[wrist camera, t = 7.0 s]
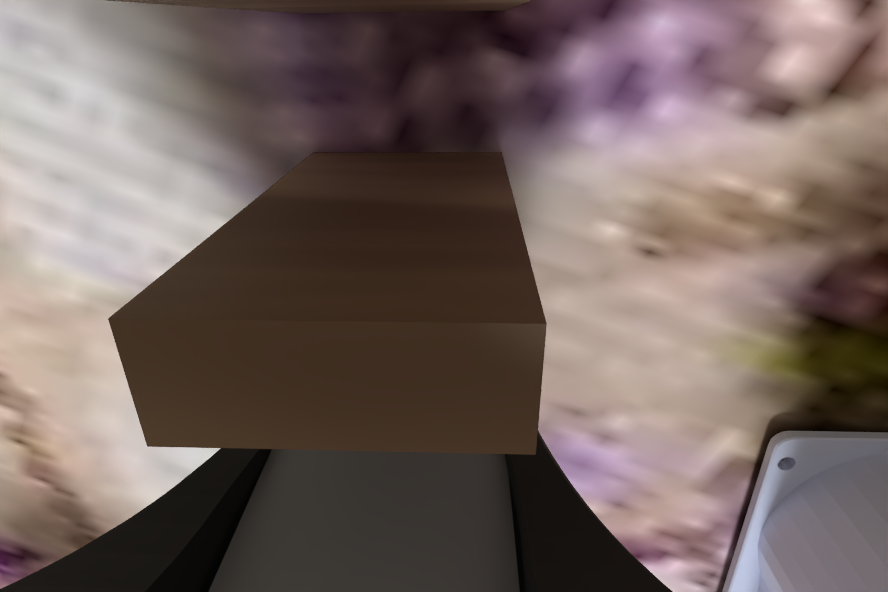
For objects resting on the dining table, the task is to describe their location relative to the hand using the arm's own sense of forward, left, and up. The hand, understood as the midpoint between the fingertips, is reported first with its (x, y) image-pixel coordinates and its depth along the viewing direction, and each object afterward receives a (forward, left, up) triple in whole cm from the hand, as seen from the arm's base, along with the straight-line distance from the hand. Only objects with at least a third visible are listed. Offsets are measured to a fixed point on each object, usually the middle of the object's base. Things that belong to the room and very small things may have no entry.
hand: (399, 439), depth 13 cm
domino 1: (+5, 0, -4) cm, 6 cm away
